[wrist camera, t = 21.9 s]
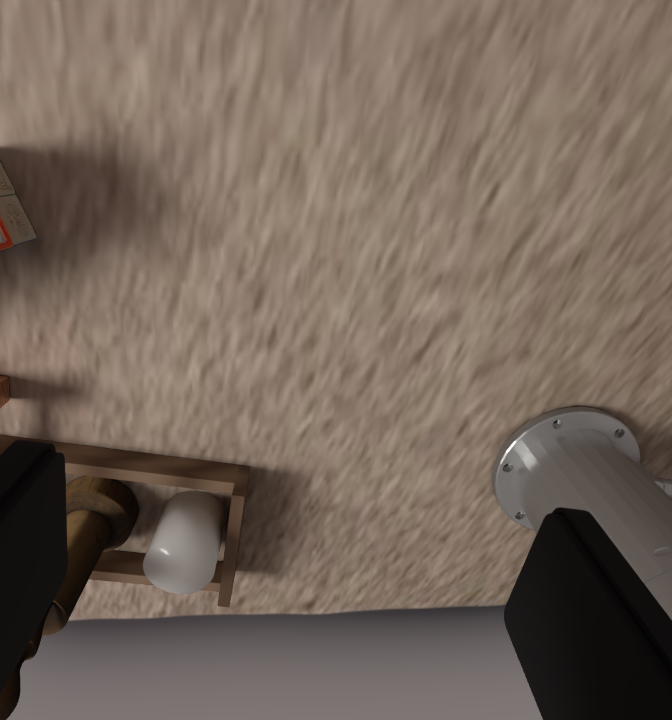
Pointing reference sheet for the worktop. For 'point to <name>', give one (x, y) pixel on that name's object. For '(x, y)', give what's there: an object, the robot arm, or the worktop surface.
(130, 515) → the mortar and pestle
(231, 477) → the lane
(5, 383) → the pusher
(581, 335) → the worktop surface
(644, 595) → the robot arm
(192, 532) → the white marshmallow
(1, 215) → the stack of blocks
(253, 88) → the worktop surface
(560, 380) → the worktop surface
